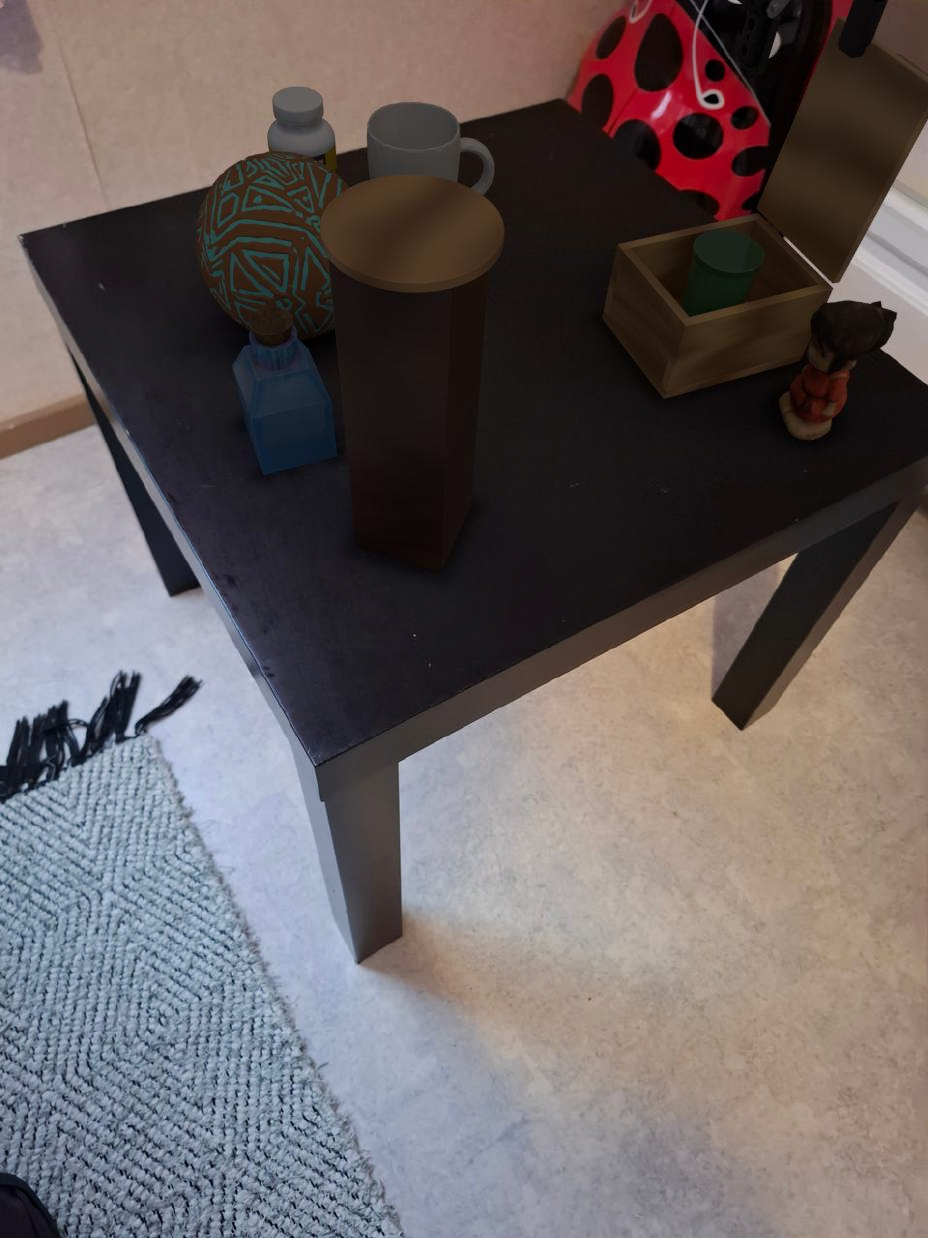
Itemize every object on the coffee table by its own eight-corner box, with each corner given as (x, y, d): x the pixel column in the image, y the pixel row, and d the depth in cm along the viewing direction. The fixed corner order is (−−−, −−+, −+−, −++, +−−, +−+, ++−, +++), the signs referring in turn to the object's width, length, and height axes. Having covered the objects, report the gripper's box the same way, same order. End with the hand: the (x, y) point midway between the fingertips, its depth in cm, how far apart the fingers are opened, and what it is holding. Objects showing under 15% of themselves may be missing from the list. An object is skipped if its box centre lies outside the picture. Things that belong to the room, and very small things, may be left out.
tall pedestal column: (494, 499, 71) (527, 197, 49) (453, 594, 65) (469, 301, 44) (379, 465, 72) (362, 158, 51) (329, 555, 67) (288, 255, 46)
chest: (663, 399, 78) (685, 325, 72) (601, 318, 84) (617, 243, 77) (800, 361, 82) (833, 287, 75) (732, 286, 88) (757, 212, 81)
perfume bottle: (337, 456, 73) (324, 338, 63) (263, 475, 71) (238, 356, 61) (315, 406, 76) (300, 286, 66) (244, 423, 74) (217, 303, 64)
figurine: (800, 384, 80) (855, 268, 70) (850, 419, 78) (914, 304, 68) (756, 413, 78) (806, 297, 68) (806, 450, 75) (865, 336, 65)
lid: (937, 88, 62) (989, 85, 64) (837, 16, 68) (887, 14, 70) (832, 283, 75) (878, 276, 76) (755, 208, 81) (800, 203, 82)
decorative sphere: (183, 313, 82) (140, 153, 69) (314, 253, 88) (296, 96, 75) (276, 401, 76) (248, 243, 63) (409, 330, 82) (408, 173, 69)
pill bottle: (291, 239, 89) (276, 122, 79) (268, 206, 92) (251, 89, 82) (351, 224, 91) (343, 108, 81) (326, 192, 94) (316, 75, 84)
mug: (378, 252, 88) (375, 153, 80) (363, 202, 93) (358, 103, 85) (501, 240, 90) (509, 142, 82) (480, 191, 95) (486, 94, 87)
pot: (739, 320, 83) (769, 238, 76) (729, 360, 80) (759, 279, 73) (676, 304, 84) (700, 222, 77) (663, 343, 81) (687, 261, 74)
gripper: (959, -274, 53) (849, 25, 66) (761, -262, 49) (687, 51, 63) (1048, -237, 49) (912, 72, 63) (841, -221, 46) (744, 102, 59)
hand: (800, 61), depth 63 cm, fingers open, 8 cm apart
